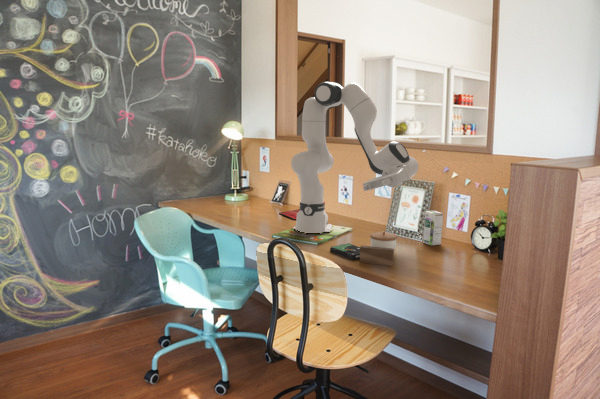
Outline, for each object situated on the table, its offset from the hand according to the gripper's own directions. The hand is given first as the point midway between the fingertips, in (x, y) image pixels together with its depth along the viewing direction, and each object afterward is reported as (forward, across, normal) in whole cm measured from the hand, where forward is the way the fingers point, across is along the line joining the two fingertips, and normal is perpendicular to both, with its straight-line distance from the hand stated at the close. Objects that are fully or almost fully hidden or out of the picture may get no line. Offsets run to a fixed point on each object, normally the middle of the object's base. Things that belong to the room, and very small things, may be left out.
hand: (372, 186), depth 191 cm
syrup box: (-22, 0, +35) cm, 42 cm away
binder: (-18, -78, +8) cm, 80 cm away
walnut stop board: (+19, +5, +26) cm, 33 cm away
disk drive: (+17, -9, +22) cm, 30 cm away
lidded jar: (+7, -2, +27) cm, 28 cm away
